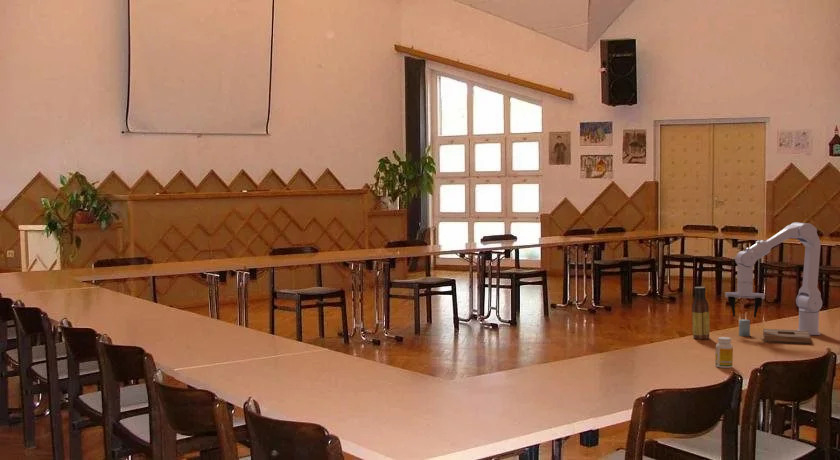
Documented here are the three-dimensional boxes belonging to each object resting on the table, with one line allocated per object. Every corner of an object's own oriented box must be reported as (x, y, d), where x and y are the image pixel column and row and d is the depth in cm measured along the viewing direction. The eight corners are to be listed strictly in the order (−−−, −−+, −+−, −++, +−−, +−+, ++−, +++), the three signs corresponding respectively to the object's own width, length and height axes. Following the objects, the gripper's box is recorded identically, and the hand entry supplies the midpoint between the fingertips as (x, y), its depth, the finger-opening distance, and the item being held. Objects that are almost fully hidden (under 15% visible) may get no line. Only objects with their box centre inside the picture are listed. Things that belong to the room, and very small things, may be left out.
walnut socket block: (763, 334, 362) (763, 328, 361) (807, 336, 356) (807, 330, 356) (764, 342, 346) (764, 335, 346) (810, 344, 341) (810, 337, 341)
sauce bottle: (707, 336, 359) (708, 286, 357) (711, 339, 352) (711, 288, 351) (690, 336, 359) (690, 286, 358) (693, 339, 353) (694, 288, 352)
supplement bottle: (711, 366, 305) (712, 337, 304) (723, 364, 307) (723, 335, 307) (724, 369, 300) (724, 339, 299) (736, 367, 303) (736, 338, 302)
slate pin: (738, 334, 364) (739, 319, 363) (749, 334, 362) (749, 319, 362) (738, 336, 360) (739, 320, 359) (749, 336, 358) (750, 321, 358)
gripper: (725, 282, 358) (724, 317, 359) (765, 283, 354) (764, 318, 354) (725, 280, 365) (725, 314, 366) (764, 281, 360) (764, 316, 361)
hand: (744, 316), depth 361 cm, fingers open, 7 cm apart
